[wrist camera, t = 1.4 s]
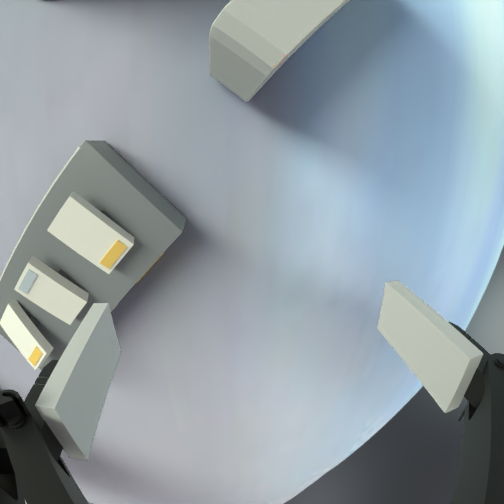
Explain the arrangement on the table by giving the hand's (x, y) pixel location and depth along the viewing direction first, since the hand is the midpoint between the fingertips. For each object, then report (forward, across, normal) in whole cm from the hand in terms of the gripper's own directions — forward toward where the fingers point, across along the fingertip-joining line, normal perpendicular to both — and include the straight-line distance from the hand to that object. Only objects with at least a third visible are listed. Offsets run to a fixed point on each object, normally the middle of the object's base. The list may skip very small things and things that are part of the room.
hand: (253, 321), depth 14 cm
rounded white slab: (+25, +10, +25) cm, 36 cm away
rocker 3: (+16, -14, 0) cm, 22 cm away
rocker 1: (+16, -20, -6) cm, 27 cm away
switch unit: (+24, -20, -6) cm, 32 cm away
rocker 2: (+16, -27, -12) cm, 34 cm away
